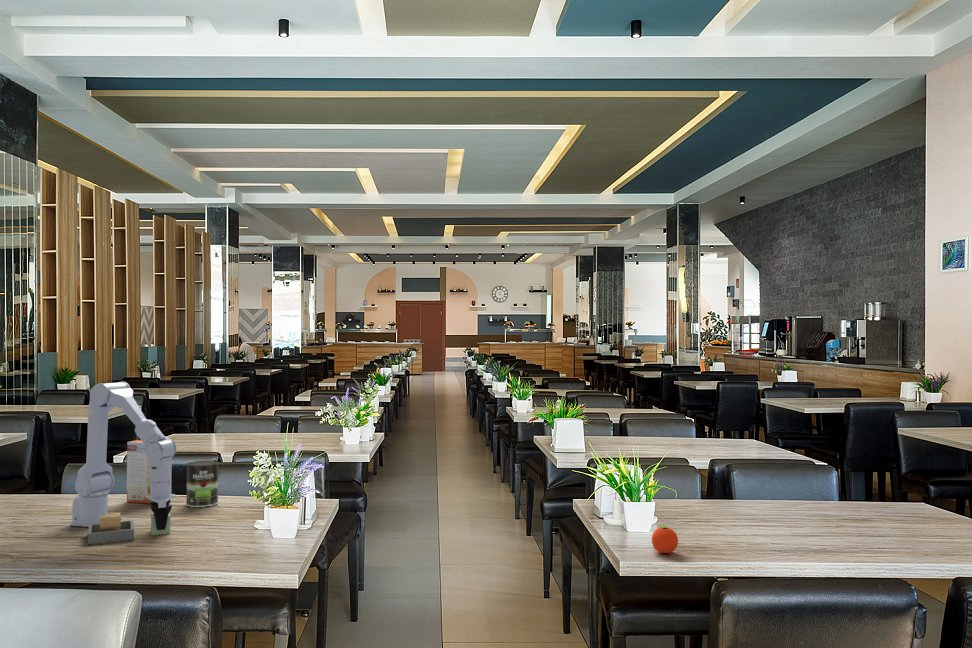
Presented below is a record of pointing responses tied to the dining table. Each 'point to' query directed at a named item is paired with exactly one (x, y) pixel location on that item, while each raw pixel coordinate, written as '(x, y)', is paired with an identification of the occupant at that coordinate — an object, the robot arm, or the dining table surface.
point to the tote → (111, 533)
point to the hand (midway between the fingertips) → (160, 527)
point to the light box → (154, 528)
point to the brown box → (110, 522)
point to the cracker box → (138, 473)
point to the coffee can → (202, 483)
